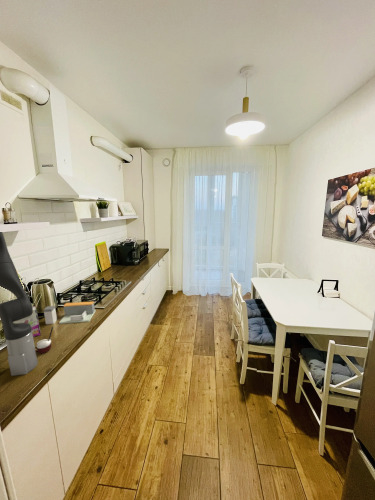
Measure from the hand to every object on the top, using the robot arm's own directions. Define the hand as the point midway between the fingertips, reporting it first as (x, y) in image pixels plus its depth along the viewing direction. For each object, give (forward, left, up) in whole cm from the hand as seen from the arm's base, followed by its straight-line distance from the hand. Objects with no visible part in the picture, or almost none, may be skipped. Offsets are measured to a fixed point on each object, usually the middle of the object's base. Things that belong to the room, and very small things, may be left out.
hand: (20, 289), depth 125 cm
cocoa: (-28, -25, -24) cm, 44 cm away
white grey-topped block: (+1, -14, -24) cm, 28 cm away
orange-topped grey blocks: (+5, -29, -24) cm, 38 cm away
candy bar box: (-14, -9, -24) cm, 29 cm away
